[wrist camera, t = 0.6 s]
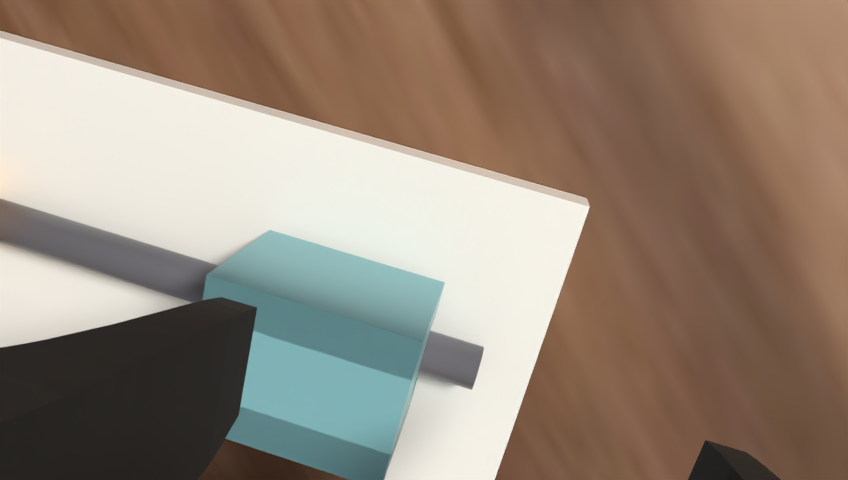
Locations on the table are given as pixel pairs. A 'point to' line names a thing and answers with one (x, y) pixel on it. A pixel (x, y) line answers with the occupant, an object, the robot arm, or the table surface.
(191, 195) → the cable board
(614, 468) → the table surface
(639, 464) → the table surface
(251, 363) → the sleeve
